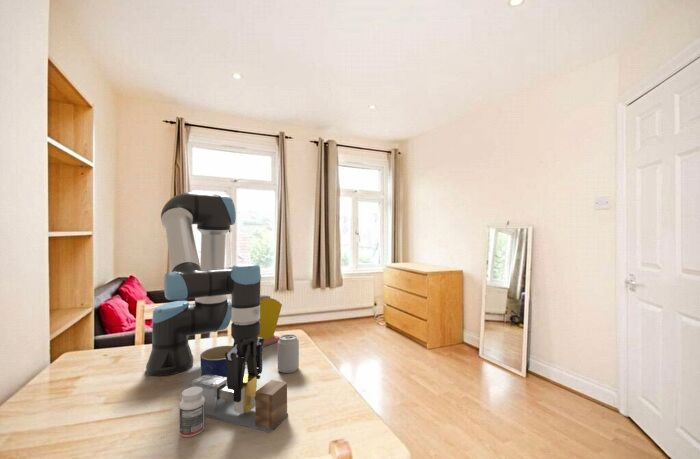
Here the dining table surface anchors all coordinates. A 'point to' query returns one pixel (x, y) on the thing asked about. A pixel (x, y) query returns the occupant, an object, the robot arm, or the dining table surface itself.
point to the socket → (271, 404)
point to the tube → (250, 392)
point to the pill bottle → (192, 412)
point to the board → (238, 417)
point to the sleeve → (211, 390)
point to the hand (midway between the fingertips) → (245, 407)
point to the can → (288, 353)
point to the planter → (215, 361)
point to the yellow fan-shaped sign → (269, 319)
